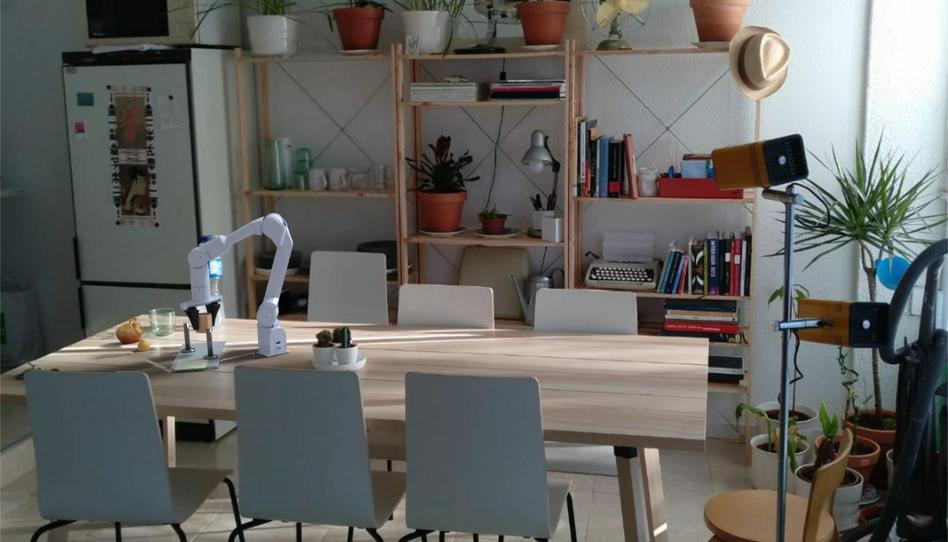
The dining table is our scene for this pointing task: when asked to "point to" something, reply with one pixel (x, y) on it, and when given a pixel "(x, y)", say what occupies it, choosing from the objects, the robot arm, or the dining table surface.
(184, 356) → the board
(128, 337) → the fruit
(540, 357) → the dining table surface
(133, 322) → the figurine
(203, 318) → the octagonal hollow tube
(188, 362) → the pad
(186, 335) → the posts
